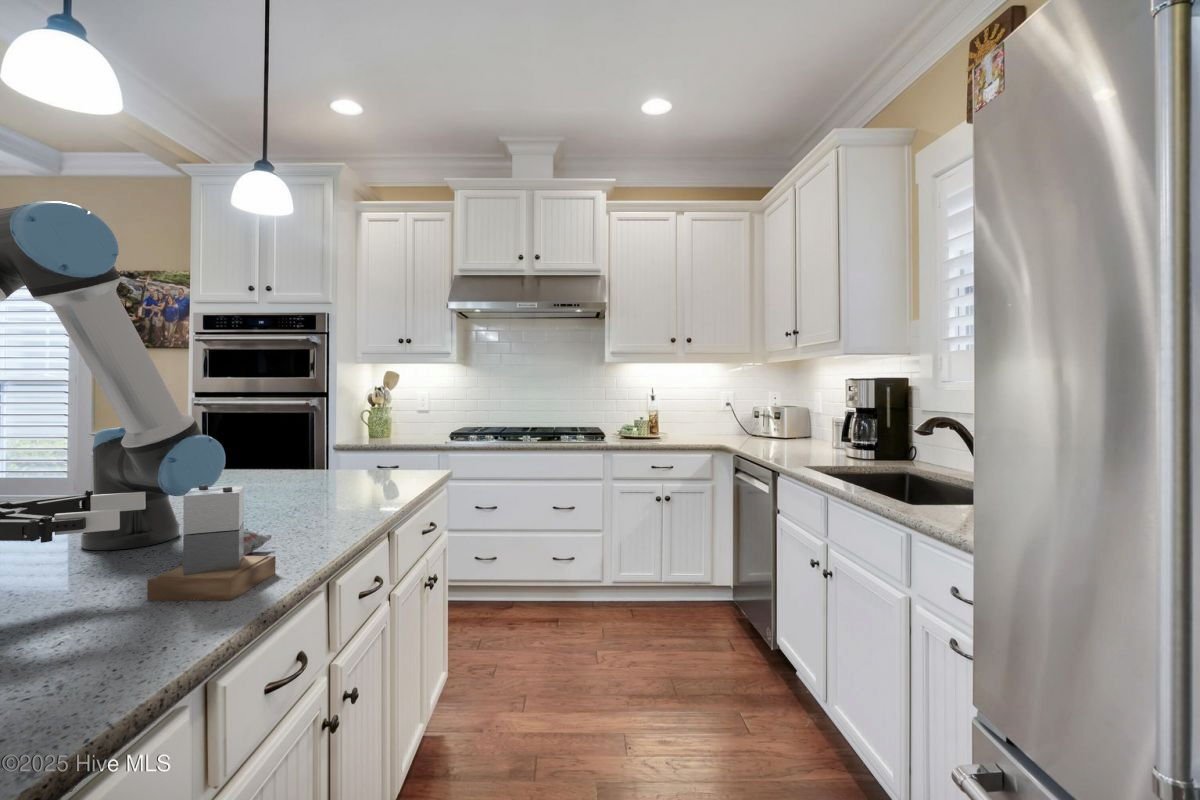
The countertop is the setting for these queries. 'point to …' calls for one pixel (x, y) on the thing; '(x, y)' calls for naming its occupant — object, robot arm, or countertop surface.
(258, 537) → the packaged food
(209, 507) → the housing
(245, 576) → the stand
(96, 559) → the countertop surface
